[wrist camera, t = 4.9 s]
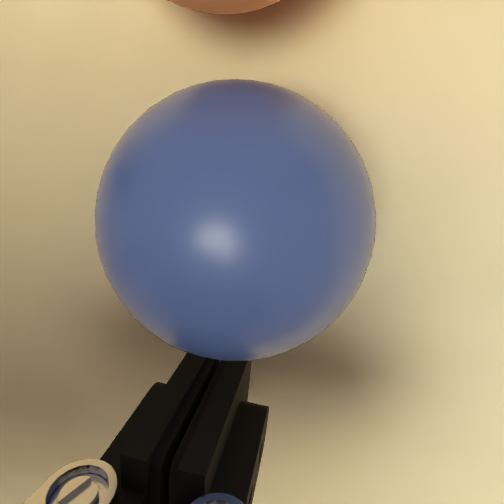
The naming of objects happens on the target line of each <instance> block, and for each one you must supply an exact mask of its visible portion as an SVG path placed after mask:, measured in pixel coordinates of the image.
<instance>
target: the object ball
mask: <svg viewBox="0 0 504 504" xmlns="http://www.w3.org/2000/svg"><path fill="white" fill-rule="evenodd" d="M168 1H170V2H173V3H175V4H177V5H180V6H182V7H185V8H189V9H193V10H197V11H201V12H205V13H211V14H222V15H225V14H241V13H245V12H250V11H254V10H259V9H261V8H264V7H266V6H269V5H272V4H274V3H277V2H278V1H280V0H168Z"/></svg>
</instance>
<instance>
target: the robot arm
mask: <svg viewBox="0 0 504 504" xmlns="http://www.w3.org/2000/svg"><path fill="white" fill-rule="evenodd" d="M250 369H251V360H248V361H223V360H221V361H220V360H216V359H211V358H206V357H201V356H197V355H194V354H191V353H188V352H187V354H186V355H185V357H184V358H183V360H182V361H181V363H180V364H179V366H178V367H177V369H176V370H175V372H174V374H173V375H172V377H171V378H170V380H169V381H168V383H167V384H164V383H159V382H157V383H155V384H154V385H153V386H152V387H151V389H150V390H149V391H148V393H147V394H146V396H145V397H144V398H143V400H142V401H141V403H140V404H139V406H138V407H137V408H136V410H135V411H134V413H133V414H132V415H131V417H130V418H129V420H128V421H127V422H126V424H125V425H124V427H123V428H122V429H121V431H120V432H119V434H118V435H117V436H116V438H115V439H114V441H113V442H112V443H111V445H110V446H109V448H108V449H107V450H106V452H105V453H104V455H103V456H102V458H101V459H100V460H98V459H82V460H78V461H75V462H72V463H70V464H68V465H66V466H64V467H62V468H60V469H59V470H58V471H56V472H55V473H54V474H53V475H51V476H50V477H49V478H48V479H47V480H46V481H45V482H44V483H43V484H42V485H41V486H40V487H39V488H38V489H37V490H36V491H35V492H34V493H33V494H32V495H31V496H30V497H29V498H28V499H27V500H26V501H25V502H24V503H23V504H252V500H253V495H254V491H255V486H256V481H257V476H258V472H259V467H260V462H261V457H262V452H263V446H264V441H265V434H266V427H267V420H268V412H269V407H267V406H263V405H258V404H254V403H249V402H247V398H248V388H249V379H250Z"/></svg>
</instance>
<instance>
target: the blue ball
mask: <svg viewBox="0 0 504 504" xmlns="http://www.w3.org/2000/svg"><path fill="white" fill-rule="evenodd" d="M375 229H376V211H375V204H374V197H373V191H372V185H371V182H370V180H369V177H368V174H367V171H366V168H365V166H364V163H363V160H362V158H361V157H360V155H359V153H358V151H357V150H356V148H355V146H354V145H353V143H352V141H351V140H350V138H349V137H348V136H347V134H346V133H345V132H344V131H343V129H342V128H341V127H340V126H339V125H338V124H337V123H336V122H335V121H334V120H333V119H332V118H331V117H330V116H329V115H328V114H327V113H325V112H324V111H323V110H322V109H320V108H319V107H318V106H316V105H315V104H314V103H312V102H311V101H309V100H307V99H306V98H304V97H302V96H301V95H299V94H297V93H294V92H292V91H290V90H288V89H285V88H283V87H279V86H276V85H273V84H270V83H265V82H260V81H254V80H240V79H231V80H216V81H210V82H205V83H201V84H197V85H194V86H191V87H188V88H186V89H183V90H180V91H178V92H175V93H173V94H172V95H170V96H168V97H166V98H165V99H163V100H162V101H160V102H158V103H157V104H155V105H154V106H152V107H150V108H149V109H148V110H147V111H146V112H145V113H144V114H143V115H142V116H140V117H139V118H138V119H137V120H136V121H135V122H134V123H133V124H132V125H131V126H130V127H129V128H128V130H127V131H126V132H125V134H124V135H123V137H122V138H121V139H120V141H119V142H118V144H117V145H116V147H115V148H114V150H113V151H112V153H111V156H110V158H109V160H108V162H107V164H106V166H105V169H104V172H103V175H102V178H101V182H100V185H99V188H98V192H97V200H96V208H95V231H96V240H97V245H98V250H99V255H100V259H101V262H102V265H103V268H104V270H105V273H106V276H107V278H108V280H109V282H110V284H111V285H112V287H113V289H114V291H115V293H116V295H117V296H118V298H119V299H120V301H121V302H122V303H123V305H124V306H125V307H126V308H127V310H128V311H129V312H130V313H131V315H132V316H133V317H134V318H135V319H136V320H138V321H139V322H140V323H141V324H142V325H143V326H144V327H145V328H146V329H147V330H148V331H150V332H151V333H153V334H154V335H156V336H157V337H159V338H160V339H161V340H163V341H164V342H166V343H168V344H170V345H172V346H174V347H176V348H178V349H181V350H183V351H186V352H188V353H191V354H194V355H197V356H201V357H206V358H211V359H216V360H223V361H248V360H255V359H261V358H267V357H271V356H274V355H277V354H280V353H283V352H287V351H289V350H291V349H293V348H295V347H297V346H299V345H301V344H303V343H305V342H307V341H309V340H310V339H312V338H313V337H315V336H316V335H317V334H319V333H320V332H322V331H323V330H324V329H325V328H327V327H328V326H329V325H330V324H331V323H332V322H333V321H334V320H335V319H336V318H337V317H338V316H339V315H340V314H341V313H342V311H343V310H344V309H345V308H346V306H347V305H348V304H349V302H350V301H351V300H352V298H353V297H354V295H355V293H356V292H357V290H358V288H359V286H360V284H361V283H362V281H363V278H364V276H365V273H366V270H367V267H368V265H369V262H370V259H371V256H372V251H373V246H374V240H375Z"/></svg>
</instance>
